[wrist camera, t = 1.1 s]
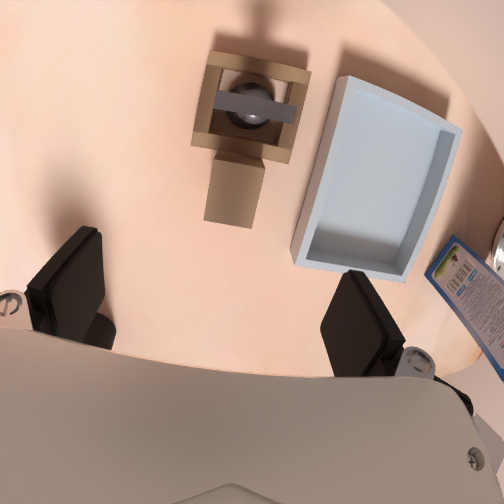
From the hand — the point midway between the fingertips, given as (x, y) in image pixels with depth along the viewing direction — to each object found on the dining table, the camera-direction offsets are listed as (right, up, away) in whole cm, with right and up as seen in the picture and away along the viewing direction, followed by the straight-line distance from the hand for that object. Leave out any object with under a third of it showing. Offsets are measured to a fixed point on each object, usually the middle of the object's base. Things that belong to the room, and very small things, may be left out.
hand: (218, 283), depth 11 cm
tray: (+13, +8, +15) cm, 21 cm away
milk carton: (+28, -1, +21) cm, 35 cm away
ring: (+1, +11, +13) cm, 17 cm away
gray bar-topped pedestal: (+1, +13, +12) cm, 18 cm away
